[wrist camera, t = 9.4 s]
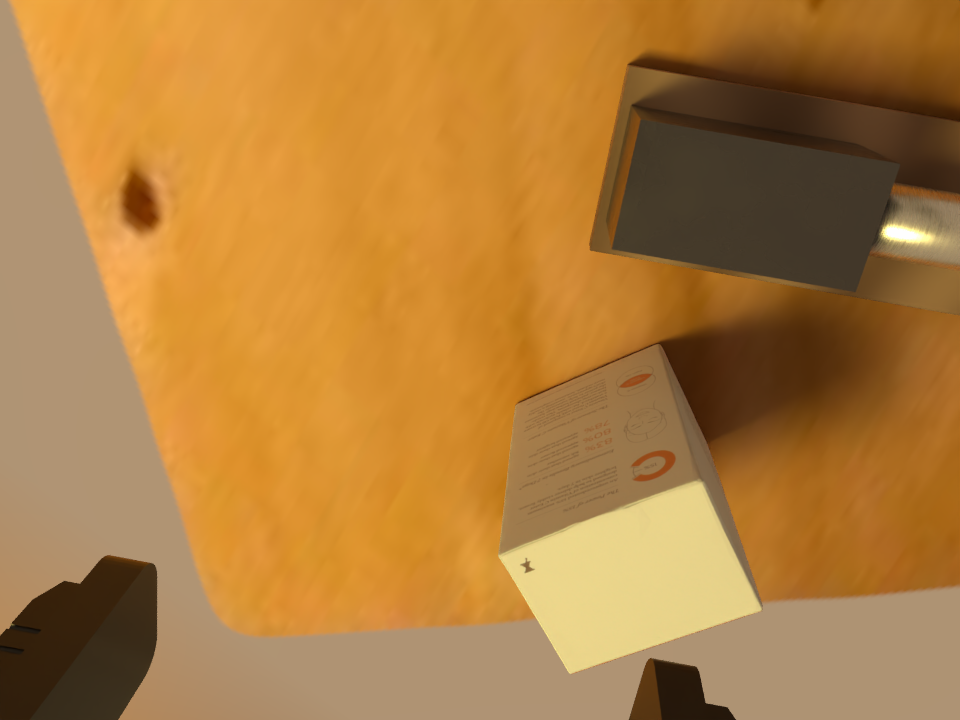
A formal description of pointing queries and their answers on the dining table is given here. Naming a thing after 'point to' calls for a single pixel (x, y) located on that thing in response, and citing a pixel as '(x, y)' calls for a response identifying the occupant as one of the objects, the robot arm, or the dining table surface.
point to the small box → (620, 516)
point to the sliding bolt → (920, 227)
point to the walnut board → (892, 133)
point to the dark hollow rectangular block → (747, 198)
